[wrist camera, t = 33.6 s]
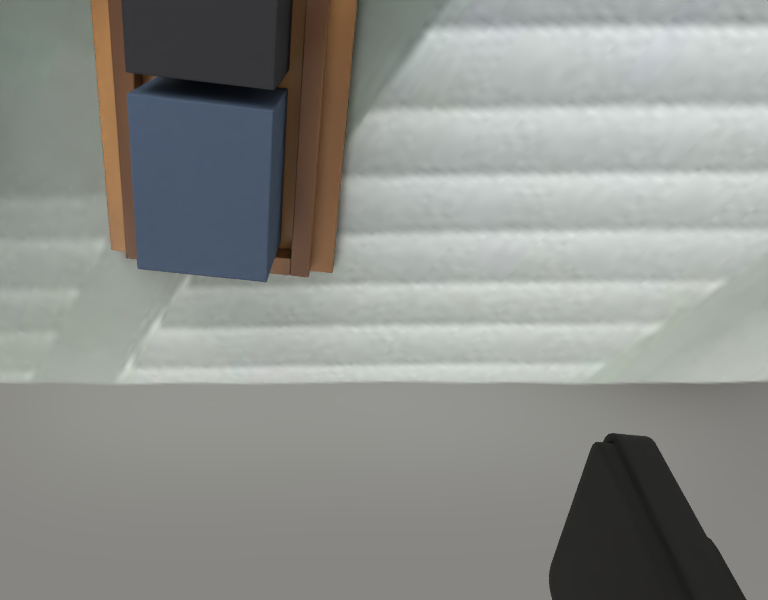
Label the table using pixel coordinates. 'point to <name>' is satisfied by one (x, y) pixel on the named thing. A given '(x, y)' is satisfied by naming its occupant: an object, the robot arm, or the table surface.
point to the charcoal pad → (209, 40)
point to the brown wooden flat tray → (303, 129)
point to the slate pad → (207, 177)
